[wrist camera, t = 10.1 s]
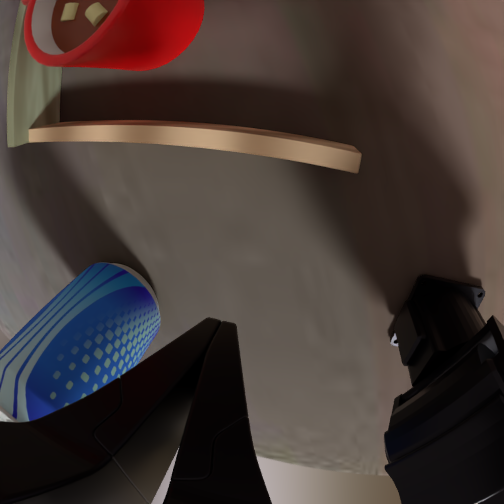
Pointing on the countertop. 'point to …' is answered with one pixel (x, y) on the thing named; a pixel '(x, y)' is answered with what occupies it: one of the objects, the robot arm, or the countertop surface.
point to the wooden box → (142, 121)
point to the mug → (110, 32)
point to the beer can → (78, 342)
